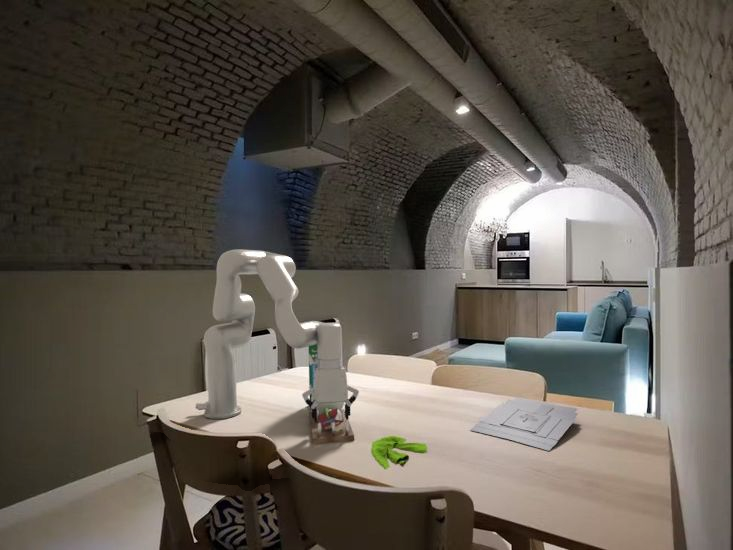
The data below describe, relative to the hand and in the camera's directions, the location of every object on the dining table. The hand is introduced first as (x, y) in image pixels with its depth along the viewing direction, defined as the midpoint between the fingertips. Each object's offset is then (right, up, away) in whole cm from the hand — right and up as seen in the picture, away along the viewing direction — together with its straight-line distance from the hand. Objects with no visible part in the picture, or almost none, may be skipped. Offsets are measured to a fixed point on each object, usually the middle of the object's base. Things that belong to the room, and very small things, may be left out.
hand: (331, 419), depth 133 cm
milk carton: (-5, -4, +27) cm, 28 cm away
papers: (+61, -4, +3) cm, 62 cm away
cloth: (+20, -5, -15) cm, 25 cm away
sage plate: (-2, -3, +11) cm, 12 cm away
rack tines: (-1, -3, +6) cm, 6 cm away
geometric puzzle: (0, -3, 0) cm, 3 cm away
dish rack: (-1, -4, +6) cm, 7 cm away
